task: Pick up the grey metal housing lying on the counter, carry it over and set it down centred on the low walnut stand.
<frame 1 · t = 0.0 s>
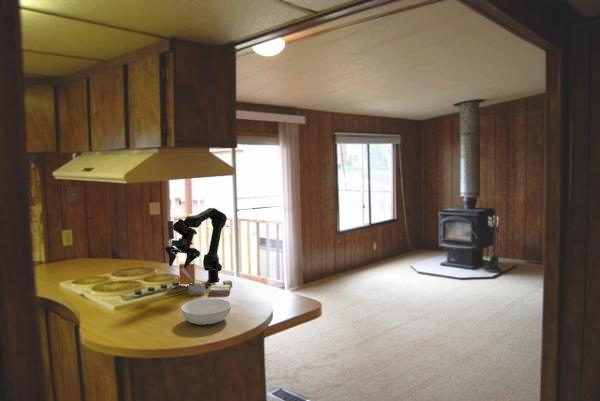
hand: (177, 267, 235), 15 cm above the counter, tool tilted 35°, fingers open, 9 cm apart
small box: (187, 286, 255), on the counter
serving bowl: (206, 321, 199), on the counter
housing: (197, 293, 241), on the counter
stand: (220, 292, 241), on the counter
oak offcut: (227, 286, 253), on the counter
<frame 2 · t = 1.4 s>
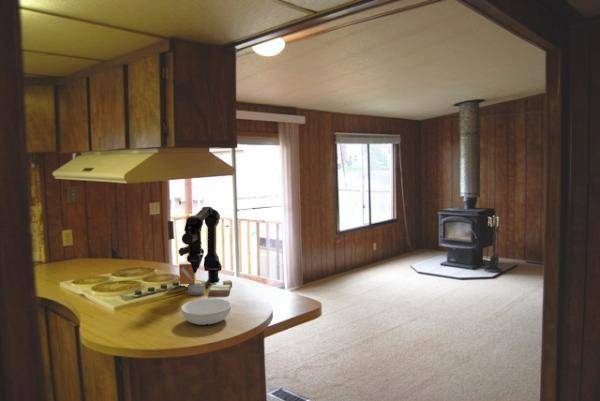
hand: (196, 270, 240), 12 cm above the counter, tool pointing down, fingers open, 9 cm apart
nothing on the counter moved.
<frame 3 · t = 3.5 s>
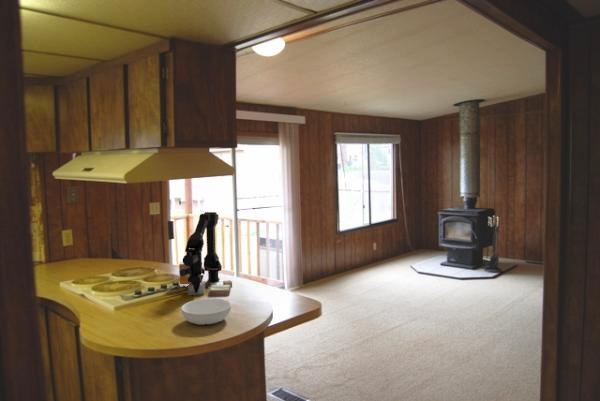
hand: (196, 291, 241), 1 cm above the counter, tool pointing down, fingers closed on housing, 5 cm apart
housing: (196, 293, 241), on the counter, touching gripper
everything else where it was.
when the fingers open (5 cm above the counter, at t = 8.0 s): housing drops 1 cm, resting on stand.
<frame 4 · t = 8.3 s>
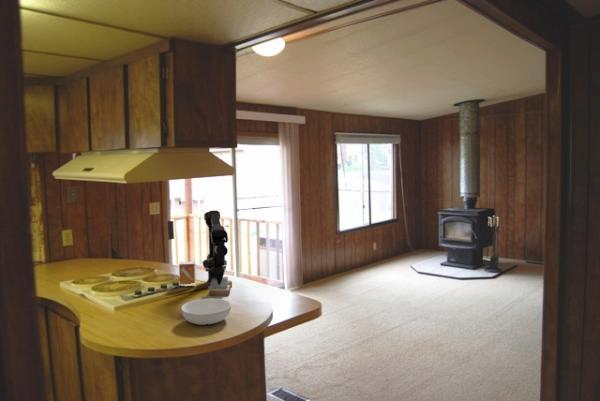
hand: (219, 282, 240), 5 cm above the counter, tool pointing down, fingers open, 8 cm apart
housing: (219, 287, 241), point 3 cm above the counter, touching stand
everything else where it was.
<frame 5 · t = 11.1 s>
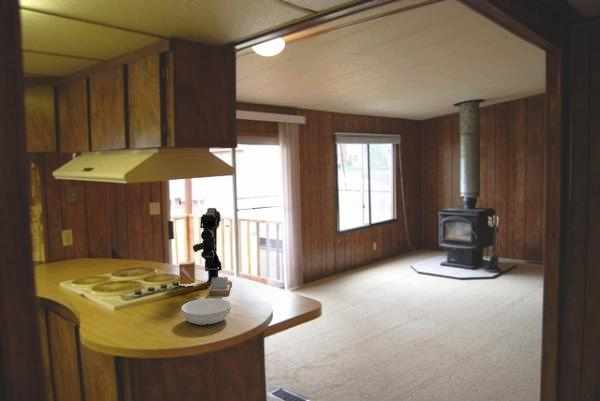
hand: (209, 266, 248), 12 cm above the counter, tool pointing down, fingers open, 9 cm apart
nothing on the counter moved.
at the end: housing inside the target area on the stand (0.1 cm from its centre), point 3.0 cm above the stand's base; housing tilted 0°; the gripper is holding nothing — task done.
